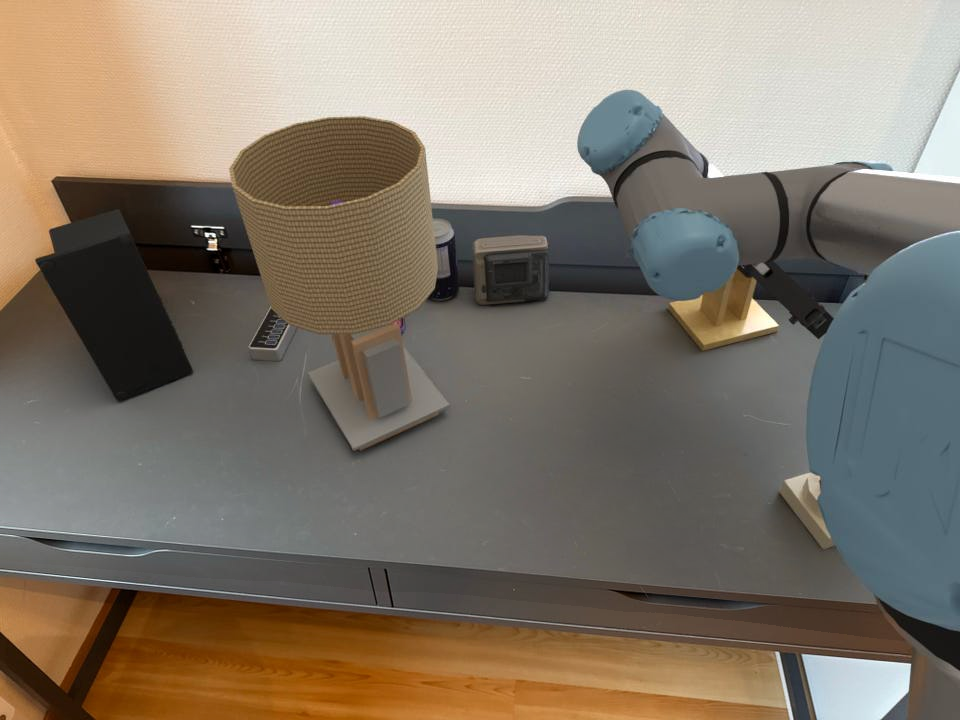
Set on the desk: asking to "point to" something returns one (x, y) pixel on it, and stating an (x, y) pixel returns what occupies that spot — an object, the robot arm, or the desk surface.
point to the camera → (511, 269)
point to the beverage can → (445, 261)
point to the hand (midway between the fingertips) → (790, 295)
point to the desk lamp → (347, 258)
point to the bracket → (724, 314)
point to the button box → (807, 505)
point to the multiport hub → (271, 338)
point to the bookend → (113, 304)
